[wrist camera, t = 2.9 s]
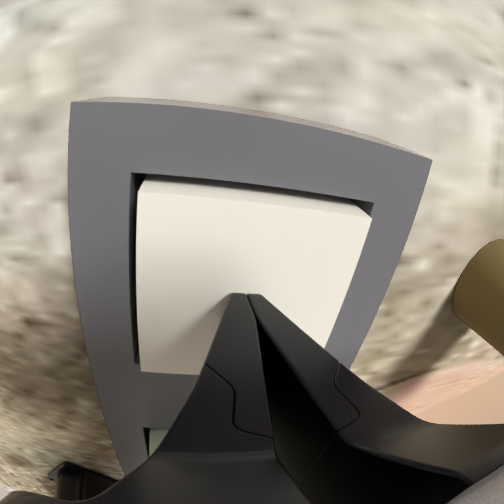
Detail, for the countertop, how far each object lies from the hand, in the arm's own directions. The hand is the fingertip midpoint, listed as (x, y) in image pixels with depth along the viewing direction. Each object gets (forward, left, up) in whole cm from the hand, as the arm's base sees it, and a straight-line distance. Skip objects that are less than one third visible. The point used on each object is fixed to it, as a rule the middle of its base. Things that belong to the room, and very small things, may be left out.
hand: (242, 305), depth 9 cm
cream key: (0, 0, -3) cm, 3 cm away
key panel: (-4, -3, -4) cm, 7 cm away
